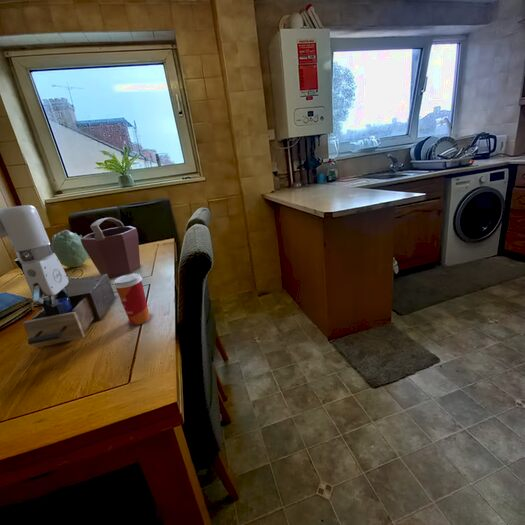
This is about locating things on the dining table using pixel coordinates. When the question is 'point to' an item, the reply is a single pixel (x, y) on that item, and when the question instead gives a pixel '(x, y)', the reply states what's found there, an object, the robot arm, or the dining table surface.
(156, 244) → the dining table surface
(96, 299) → the cabinet
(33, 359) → the dining table surface
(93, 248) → the bucket
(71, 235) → the cabbage
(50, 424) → the dining table surface
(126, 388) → the dining table surface
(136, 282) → the paper cup
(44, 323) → the drawer
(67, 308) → the blue cylinder can
